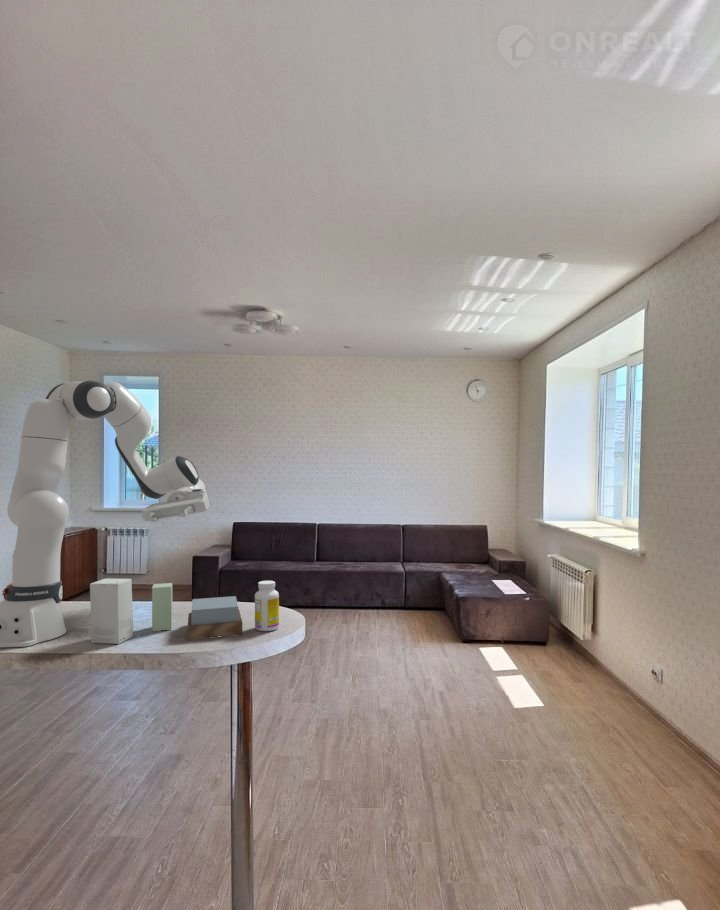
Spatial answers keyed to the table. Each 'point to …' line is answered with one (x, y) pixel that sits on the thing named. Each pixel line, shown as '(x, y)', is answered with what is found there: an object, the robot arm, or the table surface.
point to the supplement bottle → (266, 607)
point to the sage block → (162, 607)
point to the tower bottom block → (214, 629)
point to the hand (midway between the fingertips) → (167, 516)
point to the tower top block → (214, 610)
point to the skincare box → (111, 611)
